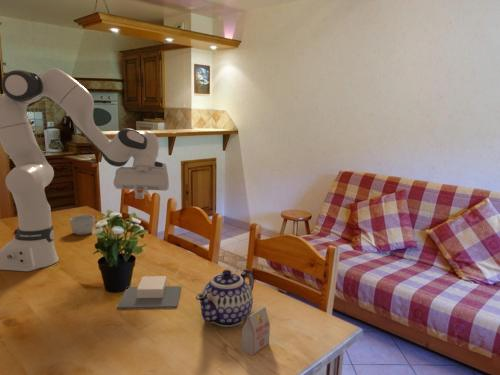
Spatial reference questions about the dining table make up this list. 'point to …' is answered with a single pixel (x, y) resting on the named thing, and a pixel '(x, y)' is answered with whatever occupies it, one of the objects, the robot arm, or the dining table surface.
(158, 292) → the ceramic tile
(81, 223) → the teacup
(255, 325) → the grey gable-top carton
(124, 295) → the slate mat
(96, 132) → the robot arm
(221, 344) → the dining table surface
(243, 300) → the teapot
